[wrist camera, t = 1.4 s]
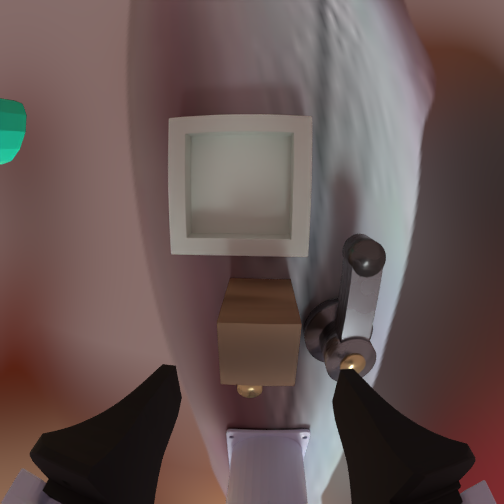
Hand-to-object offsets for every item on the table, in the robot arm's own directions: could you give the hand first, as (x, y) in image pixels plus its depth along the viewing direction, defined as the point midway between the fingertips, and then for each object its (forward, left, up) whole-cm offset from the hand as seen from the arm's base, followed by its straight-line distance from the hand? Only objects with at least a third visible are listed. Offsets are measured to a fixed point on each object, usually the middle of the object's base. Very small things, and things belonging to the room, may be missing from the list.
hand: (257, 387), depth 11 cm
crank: (+1, -6, -7) cm, 9 cm away
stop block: (0, 0, -8) cm, 8 cm away
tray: (+8, +1, -8) cm, 12 cm away
